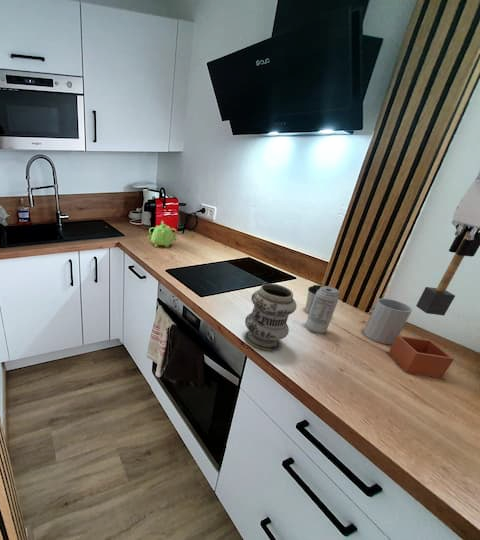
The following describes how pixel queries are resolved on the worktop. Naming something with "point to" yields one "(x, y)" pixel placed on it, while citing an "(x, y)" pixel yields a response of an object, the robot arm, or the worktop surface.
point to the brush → (441, 289)
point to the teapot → (162, 235)
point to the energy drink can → (322, 309)
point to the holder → (420, 356)
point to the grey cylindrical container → (387, 320)
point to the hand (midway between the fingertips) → (460, 253)
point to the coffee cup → (311, 297)
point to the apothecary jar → (269, 316)
